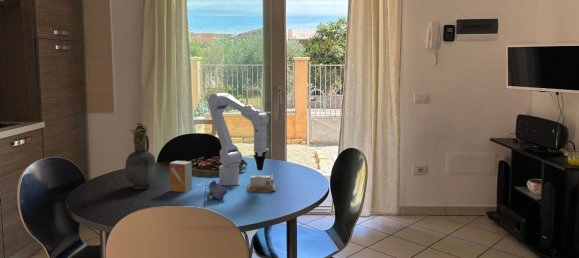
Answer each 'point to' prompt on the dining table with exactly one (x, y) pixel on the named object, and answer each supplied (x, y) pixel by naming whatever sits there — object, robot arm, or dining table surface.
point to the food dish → (210, 167)
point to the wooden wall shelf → (268, 188)
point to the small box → (180, 176)
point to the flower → (216, 191)
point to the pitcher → (140, 160)
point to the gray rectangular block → (258, 181)
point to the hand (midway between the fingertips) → (260, 168)
